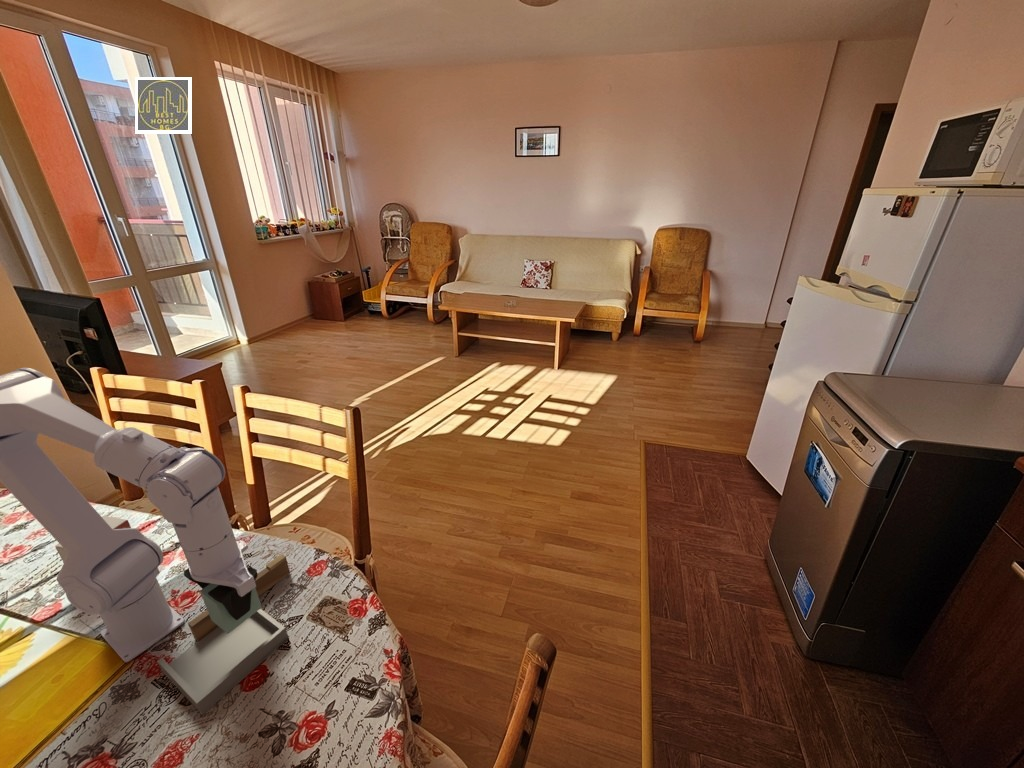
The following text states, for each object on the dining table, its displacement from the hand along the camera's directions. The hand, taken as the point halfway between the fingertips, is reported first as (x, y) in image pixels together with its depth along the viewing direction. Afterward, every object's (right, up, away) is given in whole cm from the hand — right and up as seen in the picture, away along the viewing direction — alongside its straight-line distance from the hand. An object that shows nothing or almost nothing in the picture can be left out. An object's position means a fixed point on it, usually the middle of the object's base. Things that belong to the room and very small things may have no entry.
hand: (232, 606), depth 62 cm
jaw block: (0, -2, +1) cm, 2 cm away
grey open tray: (-2, -8, +2) cm, 9 cm away
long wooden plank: (-4, -5, +10) cm, 12 cm away
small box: (-32, -3, +15) cm, 36 cm away
